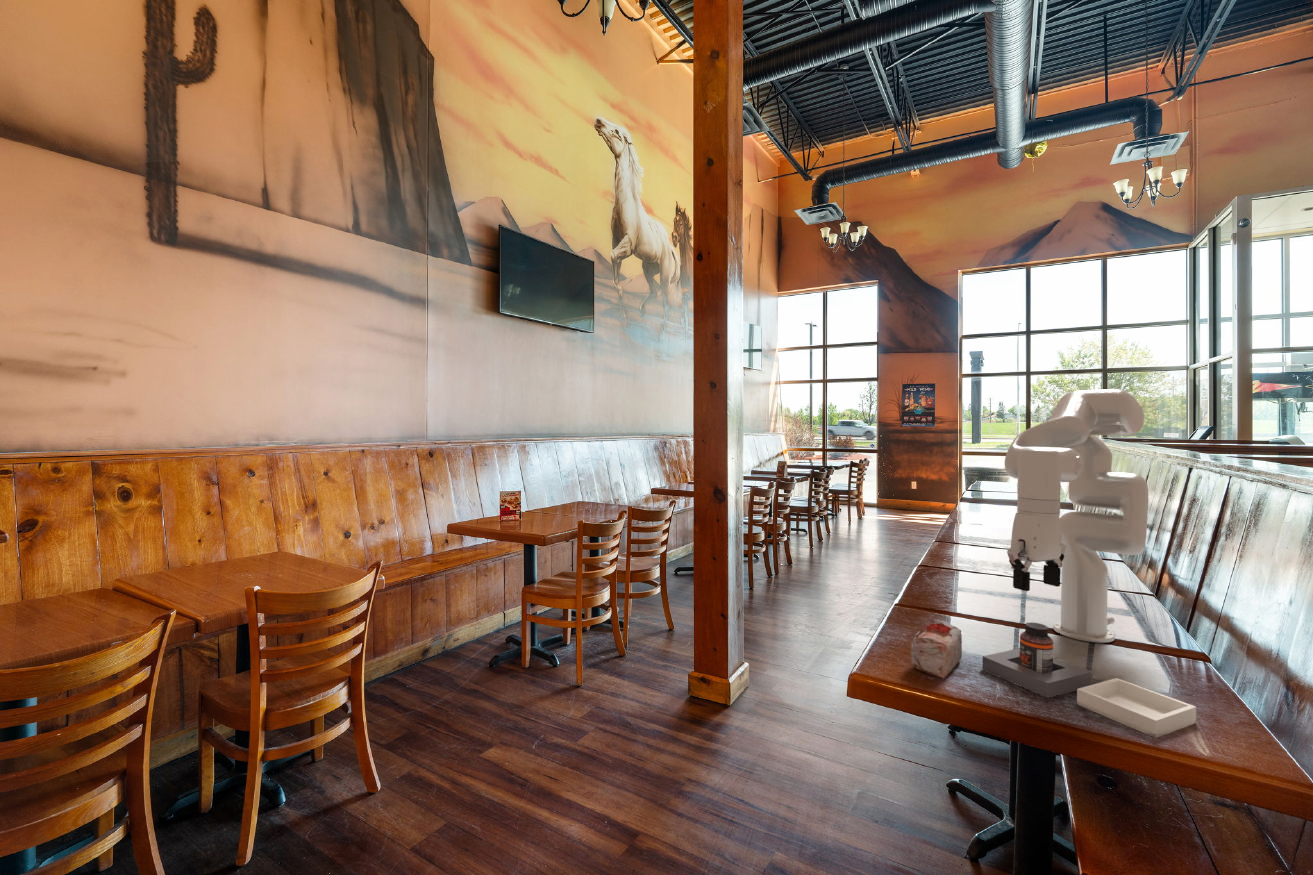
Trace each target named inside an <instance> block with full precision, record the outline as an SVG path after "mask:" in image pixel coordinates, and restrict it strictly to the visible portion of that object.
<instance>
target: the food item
mask: <svg viewBox="0 0 1313 875" xmlns="http://www.w3.org/2000/svg"><path fill="white" fill-rule="evenodd" d="M925 626H926V629H925V630H924V631H923V632H922V633H921V630H919V631H918V632H916V634H915V635H914V638H913V640H912V642H911V643H910V647H911V651H910V655H911V658H910V659H911V664H912V666H913V667H915V668H916V669H917V670H919V671H922V672H923V673H925V674H928V675H930V676H934V677H937V678H941V679H945V678H946V677H947V676H948V675H949V674H950V672H952V670H953V669H954V668H955V667H956V665H957V664H958V663H959V661H961V659H962V656H963V646H962V645H963V644H962V642H963V640H962V638H963V637H962V636H963V635H962V630H961V629H960V628H959V627H957V626H954V625H952V624H949V623H947V622H934V623H930V622H929V621H928V620H926V621H925Z"/></svg>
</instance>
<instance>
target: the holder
mask: <svg viewBox="0 0 1313 875" xmlns="http://www.w3.org/2000/svg"><path fill="white" fill-rule="evenodd" d="M1019 657H1020V647H1019V648H1014V649H1009V650H1005V651H1001V652H996V653H992V654H987V655H984V656H982V669H983V670H982V671H984V670H985V671H984V672H986V671H987V672H986V673H988V672H990V673H989V674H991V675H993V674H994V675H993V676H995V675H996V677H998V676H999V678H1000V677H1001V678H1000V679H1002V678H1003V680H1005V679H1007V680H1008V681H1007V680H1006V681H1007V682H1009V681H1012V682H1013V683H1012V684H1014V683H1016V684H1018V685H1021V686H1023V687H1025V688H1028V689H1029V690H1028V689H1027V690H1028V691H1030V690H1032V691H1034V692H1037V693H1038V695H1039V694H1041V695H1043V696H1042V697H1044V696H1045V697H1044V698H1046V697H1047V698H1046V699H1050V698H1049V697H1051V698H1054V696H1055V697H1057V696H1056V695H1058V696H1061V695H1060V694H1062V695H1064V693H1065V694H1068V693H1067V692H1069V693H1071V692H1075V691H1074V690H1076V691H1077V689H1079V688H1083V687H1086V686H1090V685H1093V671H1092V670H1089V669H1088V668H1087V669H1086V668H1083V667H1081V666H1078V665H1076V664H1073V663H1070V662H1067V661H1065V660H1062V659H1059V658H1056V657H1054V656H1053V671H1052V672H1048V673H1044V674H1041V673H1039V672H1036V671H1034V670H1031V669H1029V668H1026V667H1024V666H1021V665H1019ZM1016 684H1015V685H1016ZM1018 685H1017V686H1018ZM1021 686H1020V687H1021ZM1023 687H1022V688H1023ZM1025 688H1024V689H1025ZM1032 691H1031V692H1032ZM1034 692H1033V693H1034ZM1037 693H1036V694H1037ZM1041 695H1040V696H1041Z"/></svg>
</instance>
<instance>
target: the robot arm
mask: <svg viewBox="0 0 1313 875" xmlns="http://www.w3.org/2000/svg"><path fill="white" fill-rule="evenodd" d="M1144 421H1145V414H1144V410H1143V408H1142V406H1141V404H1140V403H1139V402H1138V400H1137V399H1136V398H1135V397H1134V395H1132V393H1131V394H1130V393H1129V392H1128V391H1125V390H1122V389H1114V388H1112V389H1089V390H1088V389H1087V390H1086V389H1085V390H1084V389H1083V390H1081V389H1080V390H1074V391H1070V392H1067V393H1065V394H1064V395H1063V396H1062V397H1061V398H1060V399H1059V400H1058V403H1057V404H1056V406H1055V408H1054V409H1053V411H1052V414H1051V415H1050V417H1049V419H1048V420H1045V421H1043V422H1040V423H1038V424H1036V425H1034V426H1031V427H1030V428H1026V430H1023V431H1022V432H1020V433H1019V434H1018V435H1017V436H1015V438H1014V439H1013V441H1012V442H1011V444H1010V445H1009V447H1008V450H1007V451H1006V453H1005V454H1006V455H1005V458H1004V468H1005V471H1006V473H1007V475H1008V476H1009V477H1010V478H1013V479H1017V501H1016V502H1017V505H1016V506H1017V507H1016V510H1017V511H1016V512H1015V515H1014V519H1013V522H1012V523H1013V524H1012V530H1011V536H1010V537H1011V541H1010V548H1008V549H1007V550H1006V554H1007V556H1008V562H1009V564H1010V565H1011V569H1012V570H1013V573H1012V587H1013V588H1014V589H1017V590H1020V591H1024V592H1029V591H1030V590H1031V572H1030V571H1029V569H1030V567H1031V566H1032V563H1040V562H1041V563H1042V562H1044V563H1045V564H1043V582H1042V583H1043V584H1044V585H1048V586H1053V587H1060V586H1061V588H1060V590H1061V592H1060V621H1056V622H1055V623H1053V627H1052V628H1053V630H1054V631H1055V632H1056V633H1058V634H1059V633H1060V635H1062V636H1064V637H1068V638H1070V639H1073V640H1078V641H1083V642H1088V643H1089V642H1090V643H1098V644H1099V643H1100V644H1101V643H1102V644H1104V643H1107V644H1108V643H1111V642H1114V641H1115V634H1114V633H1113V631H1111V630H1110V629H1109V630H1108V626H1109V625H1112V624H1115V622H1116V621H1115V618H1114V617H1113V616H1112V615H1111V616H1110V615H1108V591H1109V590H1108V588H1109V585H1108V584H1109V569H1108V567H1107V564H1106V563H1105V561H1104V560H1103V559H1102V558H1101V556H1100V555H1099V554H1098V553H1097V552H1103V553H1109V554H1118V555H1124V556H1125V555H1126V556H1138V555H1140V554H1142V553H1143V552H1144V550H1145V547H1146V542H1147V532H1148V531H1147V528H1148V512H1149V488H1148V487H1149V486H1148V483H1147V481H1146V479H1145V478H1144V477H1143V476H1141V475H1140V474H1136V473H1132V472H1119V471H1118V472H1117V471H1113V470H1112V465H1113V464H1112V463H1113V453H1112V450H1110V448H1109V447H1108V445H1107V444H1105V443H1104V442H1103V441H1102V440H1101V439H1100V438H1099V437H1098V436H1134V435H1136V434H1138V433H1139V432H1140V431H1141V430H1142V428H1143V426H1144V423H1145V422H1144ZM1061 483H1068V498H1069V501H1070V502H1072V504H1074V505H1077V506H1079V507H1084V508H1091V509H1101V510H1102V509H1104V510H1111V511H1113V510H1114V511H1120V512H1121V513H1123V514H1122V515H1118V514H1108V513H1101V512H1098V513H1097V512H1089V511H1069V512H1066V513H1064V514H1062V515H1061V487H1062V486H1061V485H1062V484H1061ZM1060 515H1061V516H1060ZM1023 562H1024V563H1023Z"/></svg>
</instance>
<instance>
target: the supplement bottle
mask: <svg viewBox="0 0 1313 875" xmlns="http://www.w3.org/2000/svg"><path fill="white" fill-rule="evenodd" d="M1024 629H1025V631H1023V632H1021V633H1020V635H1019V648H1020V657H1019V665H1021V666H1024V667H1026V668H1029V669H1031V670H1034V671H1036V672H1039V673H1041V674H1044V673H1048V672H1052V671H1053V657H1054V640H1053V638H1052V637H1051V636H1049V627H1048V626H1047V625H1045V624H1042V623H1038V622H1033V621H1032V622H1026V623H1025V628H1024Z"/></svg>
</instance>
